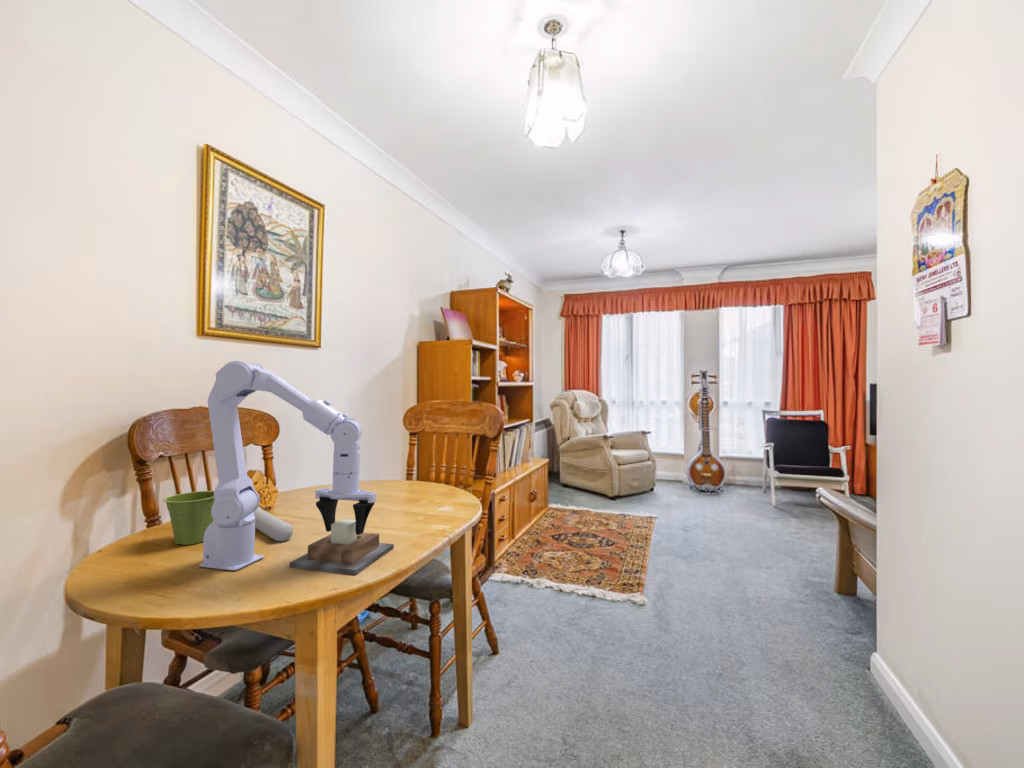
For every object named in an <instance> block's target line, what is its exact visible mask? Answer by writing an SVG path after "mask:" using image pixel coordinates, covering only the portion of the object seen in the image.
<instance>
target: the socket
mask: <svg viewBox="0 0 1024 768" xmlns="http://www.w3.org/2000/svg"><path fill="white" fill-rule="evenodd" d="M394 545H395V544H394V543H386V542H380V534H379V533H371V532H370V533H369V532H363V533H361V534H359V535H357V540H356V541H354V542H353V543H351V544H349V545H346V544H336V543H331V533H330V534H328V535H326V536H325V537H322V538H320V539H318V540H316V541H314V542H312V543H310V544H308V545H307V553H305V554H303V555H301V556H299V557H297V558H296V559H294V560H291V561H289V568H294V569H302V570H310V571H311V570H312V571H320V572H328V573H336V574H346V575H354V576H356V575H358V574H359V573H361V572H362V571H364V570H365V569H367V568H368V567H370V566H371V565H373V563H375V562H377V561H378V560H379V559H381V558H382V557H383V556H385V555H387V554H388V553H389V552H390V550H391V551H393V550H394V549H395V546H394Z"/></svg>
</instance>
